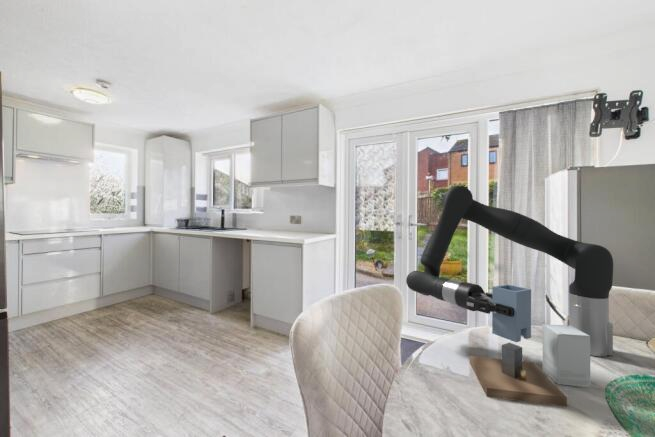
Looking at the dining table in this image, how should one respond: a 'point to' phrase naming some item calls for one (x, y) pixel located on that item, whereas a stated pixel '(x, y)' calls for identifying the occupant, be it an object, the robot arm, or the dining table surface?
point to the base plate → (516, 382)
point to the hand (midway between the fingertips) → (521, 310)
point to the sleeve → (522, 312)
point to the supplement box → (566, 355)
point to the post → (512, 361)
